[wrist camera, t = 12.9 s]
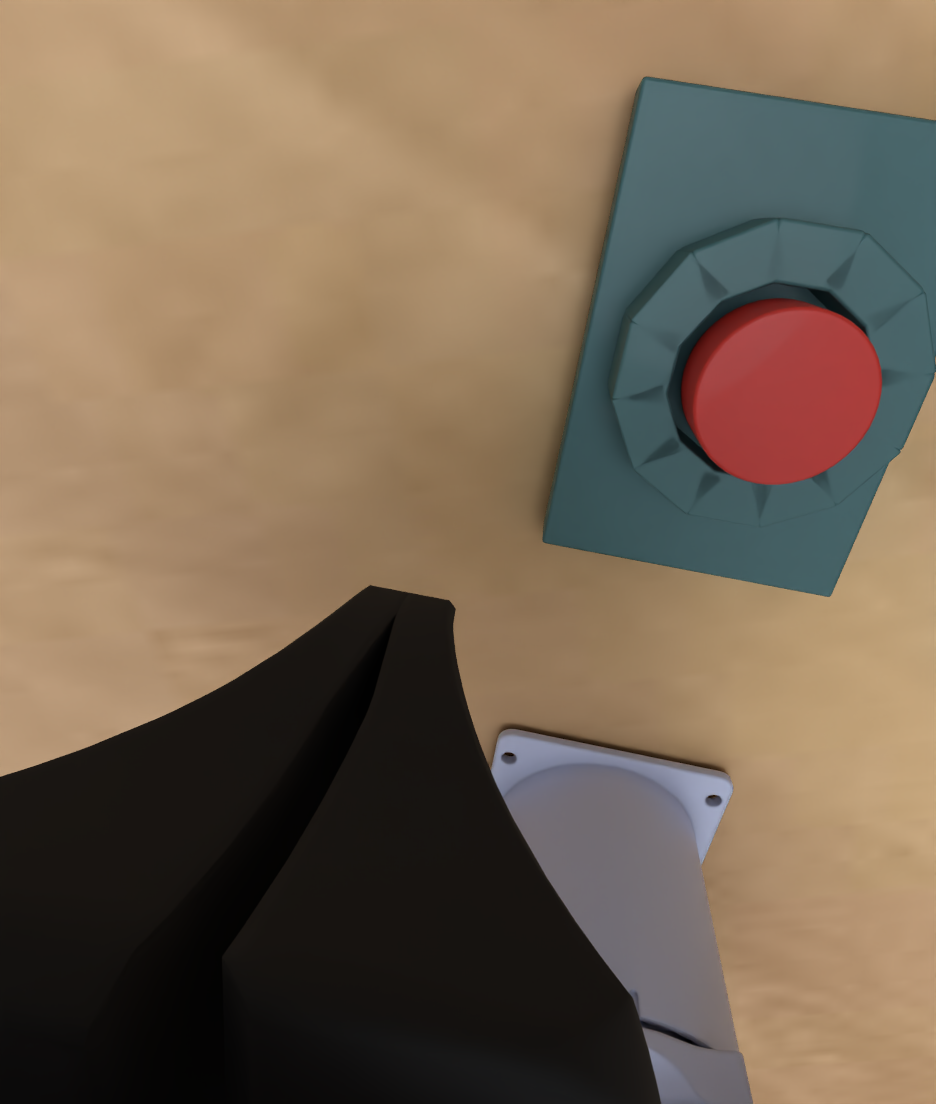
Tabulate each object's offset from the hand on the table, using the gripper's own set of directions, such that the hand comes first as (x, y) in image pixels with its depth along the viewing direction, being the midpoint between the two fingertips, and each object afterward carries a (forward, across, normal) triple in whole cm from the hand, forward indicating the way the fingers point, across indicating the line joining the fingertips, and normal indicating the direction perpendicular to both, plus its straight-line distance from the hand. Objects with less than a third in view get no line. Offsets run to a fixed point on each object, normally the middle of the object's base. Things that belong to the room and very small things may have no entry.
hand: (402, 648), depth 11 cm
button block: (+10, -6, -3) cm, 13 cm away
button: (+8, -6, -3) cm, 10 cm away
